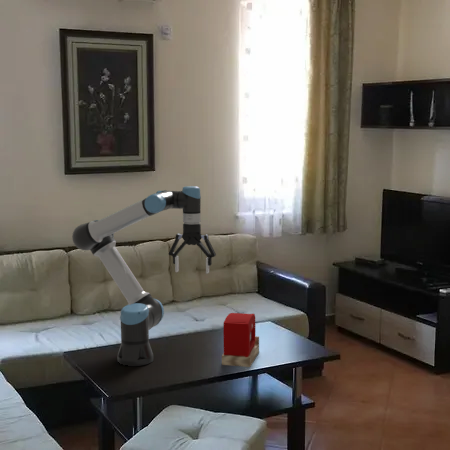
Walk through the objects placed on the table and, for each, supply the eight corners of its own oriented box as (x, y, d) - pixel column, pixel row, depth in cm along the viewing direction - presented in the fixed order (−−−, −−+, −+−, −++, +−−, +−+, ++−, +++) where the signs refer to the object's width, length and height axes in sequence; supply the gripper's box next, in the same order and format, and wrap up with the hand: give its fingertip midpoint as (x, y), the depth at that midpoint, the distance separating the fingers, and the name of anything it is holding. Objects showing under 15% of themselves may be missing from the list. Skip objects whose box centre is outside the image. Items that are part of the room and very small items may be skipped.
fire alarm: (249, 357, 284) (249, 321, 282) (223, 355, 286) (223, 320, 284) (255, 345, 300) (255, 311, 298) (231, 343, 302) (231, 310, 300)
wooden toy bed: (221, 364, 287) (221, 348, 286) (232, 349, 306) (232, 334, 305) (250, 367, 284) (250, 350, 283) (259, 351, 303) (259, 336, 302)
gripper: (160, 223, 290) (161, 272, 293) (218, 225, 285) (218, 275, 287) (166, 221, 298) (167, 269, 301) (222, 222, 292) (222, 271, 295)
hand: (192, 272), depth 294 cm, fingers open, 13 cm apart
